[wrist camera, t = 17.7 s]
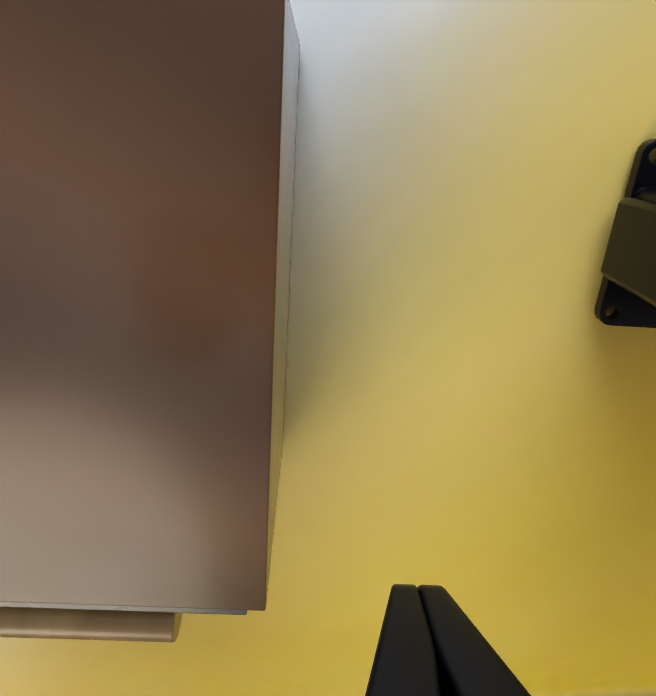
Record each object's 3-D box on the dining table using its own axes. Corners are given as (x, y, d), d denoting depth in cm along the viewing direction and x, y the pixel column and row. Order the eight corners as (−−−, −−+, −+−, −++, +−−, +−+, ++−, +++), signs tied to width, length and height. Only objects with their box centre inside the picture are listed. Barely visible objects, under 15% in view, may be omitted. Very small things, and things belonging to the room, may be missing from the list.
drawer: (263, 552, 24) (245, 704, 18) (-5, 541, 24) (-121, 695, 17) (276, 119, 17) (253, 121, 11) (-98, 93, 17) (-341, 79, 11)
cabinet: (283, 440, 23) (265, 611, 15) (-29, 426, 22) (-217, 595, 15) (299, 41, 17) (285, -20, 10) (-115, 9, 17) (-498, -85, 9)
